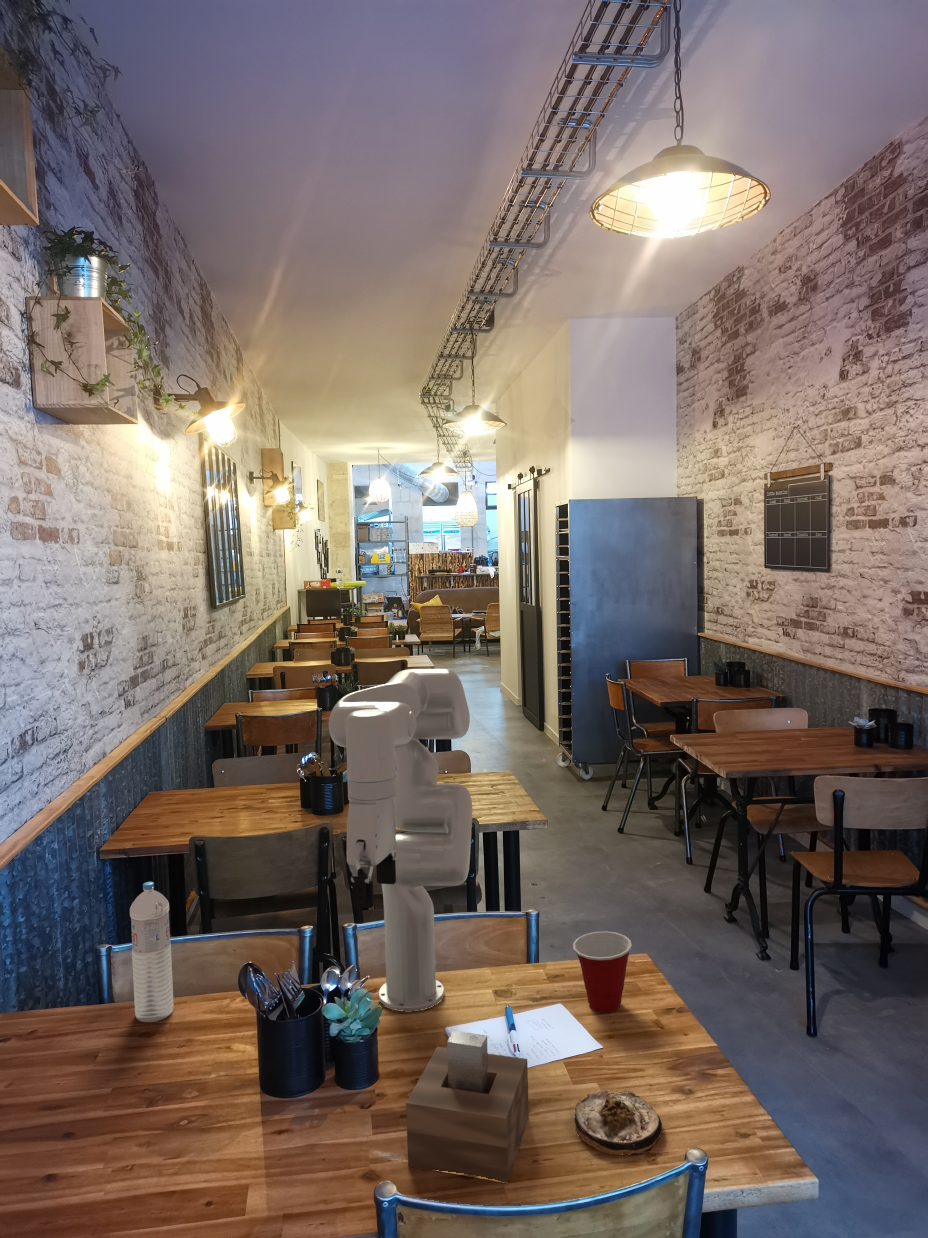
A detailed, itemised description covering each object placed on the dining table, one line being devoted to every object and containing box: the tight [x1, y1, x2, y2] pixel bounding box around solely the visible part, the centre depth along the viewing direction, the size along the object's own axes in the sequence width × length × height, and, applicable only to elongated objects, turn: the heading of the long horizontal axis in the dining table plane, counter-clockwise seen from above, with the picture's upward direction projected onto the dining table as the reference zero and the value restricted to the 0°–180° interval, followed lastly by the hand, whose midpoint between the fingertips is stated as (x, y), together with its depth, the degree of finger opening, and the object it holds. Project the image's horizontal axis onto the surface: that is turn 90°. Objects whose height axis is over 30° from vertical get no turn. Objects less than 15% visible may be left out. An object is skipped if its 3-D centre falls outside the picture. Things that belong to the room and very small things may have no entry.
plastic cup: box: [572, 931, 632, 1014], centre depth 156 cm, size 11×11×12 cm
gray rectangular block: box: [446, 1030, 489, 1094], centre depth 119 cm, size 3×5×10 cm, turn 72°
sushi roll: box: [574, 1089, 663, 1156], centre depth 122 cm, size 15×15×4 cm
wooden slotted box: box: [405, 1046, 530, 1183], centre depth 120 cm, size 14×14×9 cm
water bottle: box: [129, 881, 174, 1023], centre depth 157 cm, size 7×7×25 cm
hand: (375, 894), depth 134 cm, fingers open, 9 cm apart
